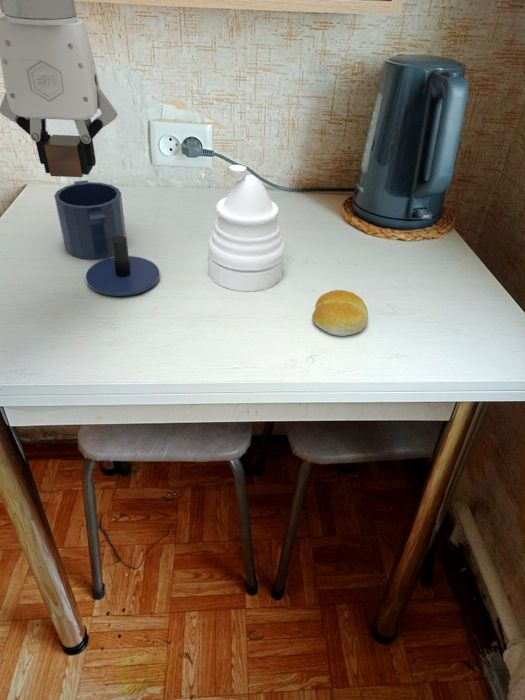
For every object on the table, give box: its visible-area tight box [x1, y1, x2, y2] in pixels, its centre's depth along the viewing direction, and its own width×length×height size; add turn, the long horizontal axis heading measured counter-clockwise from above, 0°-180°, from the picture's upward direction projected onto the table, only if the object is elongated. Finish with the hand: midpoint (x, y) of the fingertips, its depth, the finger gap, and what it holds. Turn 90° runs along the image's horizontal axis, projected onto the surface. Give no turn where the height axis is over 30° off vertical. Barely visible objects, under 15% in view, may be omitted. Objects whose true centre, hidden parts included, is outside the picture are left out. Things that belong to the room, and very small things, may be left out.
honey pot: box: [207, 164, 285, 292], centre depth 82 cm, size 13×13×18 cm
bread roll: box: [311, 289, 369, 337], centre depth 77 cm, size 8×9×4 cm
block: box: [44, 134, 84, 178], centre depth 66 cm, size 4×4×4 cm
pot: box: [53, 179, 127, 261], centre depth 89 cm, size 11×16×10 cm, turn 25°
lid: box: [85, 236, 160, 297], centre depth 81 cm, size 12×12×7 cm
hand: (69, 168), depth 67 cm, fingers closed on block, 4 cm apart
